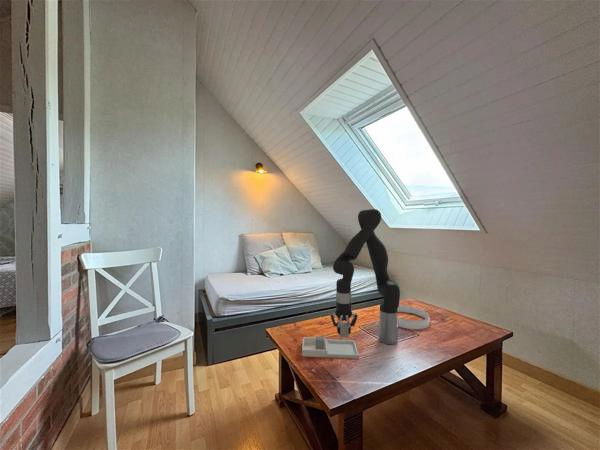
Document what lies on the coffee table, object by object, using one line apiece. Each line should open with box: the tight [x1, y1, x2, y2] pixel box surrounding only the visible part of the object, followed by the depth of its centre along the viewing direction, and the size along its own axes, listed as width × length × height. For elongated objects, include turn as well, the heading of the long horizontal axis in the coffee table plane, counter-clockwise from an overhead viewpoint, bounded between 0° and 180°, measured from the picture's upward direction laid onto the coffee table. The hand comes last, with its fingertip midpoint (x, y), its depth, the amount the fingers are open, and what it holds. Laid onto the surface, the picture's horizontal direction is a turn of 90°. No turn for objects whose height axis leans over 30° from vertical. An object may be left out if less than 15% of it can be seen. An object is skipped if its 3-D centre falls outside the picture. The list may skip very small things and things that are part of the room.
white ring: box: [397, 304, 431, 330], centre depth 168 cm, size 27×27×6 cm
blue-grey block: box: [315, 335, 324, 350], centre depth 130 cm, size 4×4×6 cm
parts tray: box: [326, 338, 360, 359], centre depth 130 cm, size 15×14×2 cm
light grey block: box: [339, 321, 350, 339], centre depth 126 cm, size 4×4×6 cm
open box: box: [301, 336, 328, 358], centre depth 130 cm, size 12×12×4 cm
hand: (343, 333), depth 126 cm, fingers closed on light grey block, 4 cm apart
